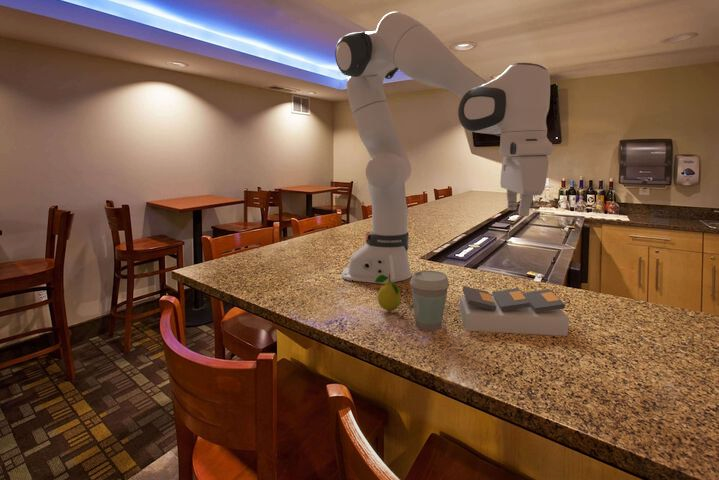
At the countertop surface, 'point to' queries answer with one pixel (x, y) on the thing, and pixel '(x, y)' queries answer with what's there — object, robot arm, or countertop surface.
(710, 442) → the countertop surface
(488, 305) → the left rocker
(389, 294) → the lemon
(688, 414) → the countertop surface
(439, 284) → the coffee cup
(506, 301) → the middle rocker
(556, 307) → the right rocker
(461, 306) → the rocker switch box
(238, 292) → the countertop surface
